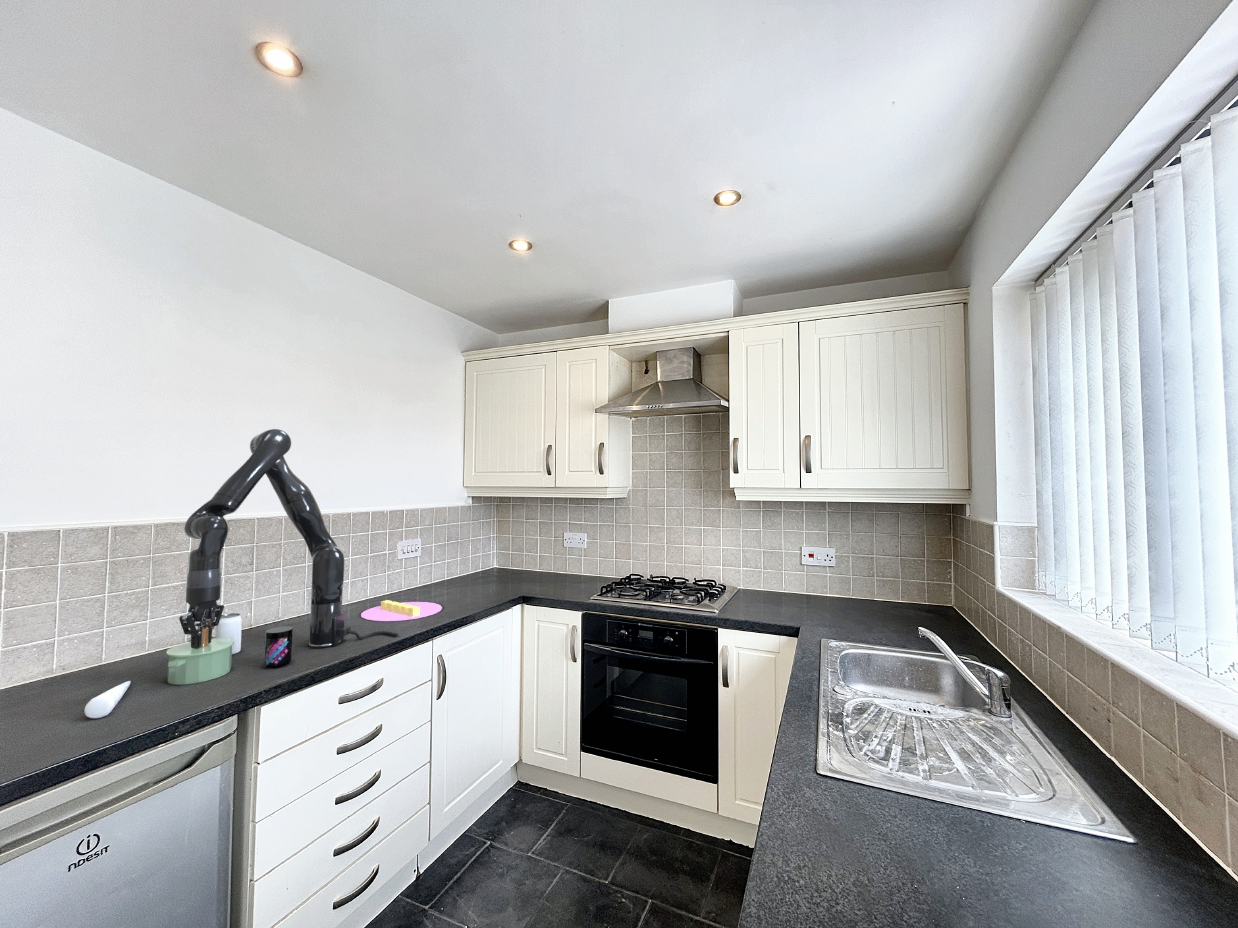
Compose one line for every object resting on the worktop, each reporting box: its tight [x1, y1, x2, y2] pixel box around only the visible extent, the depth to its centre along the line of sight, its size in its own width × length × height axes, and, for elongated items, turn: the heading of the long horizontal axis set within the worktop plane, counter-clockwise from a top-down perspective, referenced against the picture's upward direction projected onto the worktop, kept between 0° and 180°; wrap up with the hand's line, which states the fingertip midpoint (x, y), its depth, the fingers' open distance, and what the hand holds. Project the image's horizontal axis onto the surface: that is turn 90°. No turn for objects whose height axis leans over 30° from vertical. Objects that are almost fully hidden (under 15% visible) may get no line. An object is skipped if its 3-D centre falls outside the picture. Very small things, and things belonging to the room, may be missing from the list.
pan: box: [166, 646, 233, 686], centre depth 138 cm, size 14×19×8 cm
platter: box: [360, 599, 443, 622], centre depth 209 cm, size 32×32×3 cm
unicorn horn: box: [83, 680, 132, 719], centre depth 122 cm, size 5×24×5 cm, turn 29°
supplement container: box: [264, 625, 294, 669], centre depth 146 cm, size 7×7×10 cm
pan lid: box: [165, 627, 234, 657], centre depth 139 cm, size 15×15×6 cm
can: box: [214, 612, 243, 656], centre depth 156 cm, size 6×6×12 cm
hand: (201, 645), depth 138 cm, fingers closed on pan lid, 3 cm apart
